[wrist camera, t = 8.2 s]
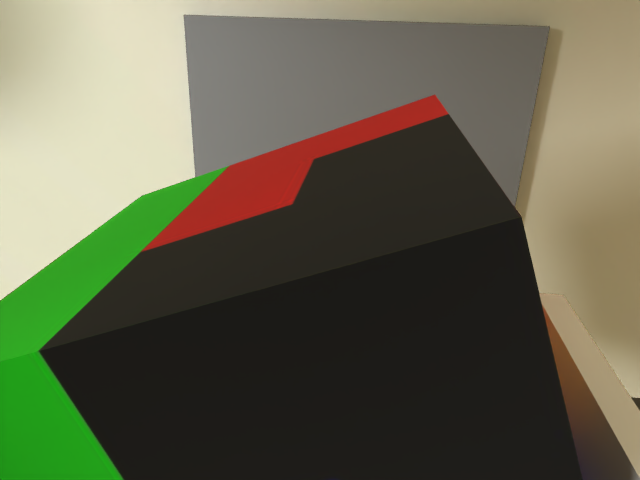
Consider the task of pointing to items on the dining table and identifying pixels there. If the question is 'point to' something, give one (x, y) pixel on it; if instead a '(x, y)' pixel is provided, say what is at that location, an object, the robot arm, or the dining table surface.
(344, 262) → the puzzle toy
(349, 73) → the charcoal mat
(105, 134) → the dining table surface
